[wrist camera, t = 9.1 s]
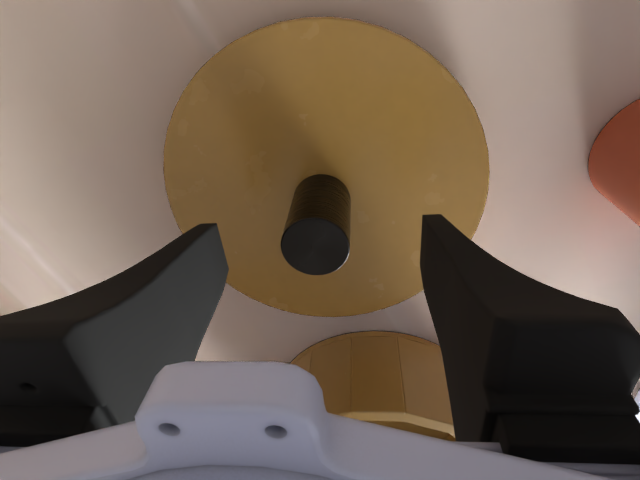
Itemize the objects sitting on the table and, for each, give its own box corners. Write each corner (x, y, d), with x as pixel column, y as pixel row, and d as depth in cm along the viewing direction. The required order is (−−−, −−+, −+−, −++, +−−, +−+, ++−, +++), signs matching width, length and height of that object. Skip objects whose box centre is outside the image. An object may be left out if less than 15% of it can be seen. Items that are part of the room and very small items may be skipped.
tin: (489, 329, 21) (522, 414, 17) (465, 455, 28) (484, 538, 24) (264, 331, 23) (244, 410, 19) (292, 451, 29) (281, 529, 25)
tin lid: (506, -5, 13) (571, 1, 9) (464, 300, 20) (490, 376, 16) (128, 33, 15) (45, 52, 11) (213, 305, 22) (182, 375, 18)
